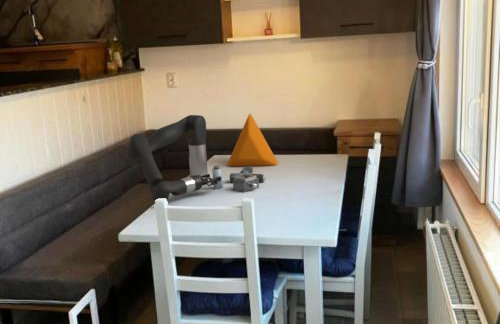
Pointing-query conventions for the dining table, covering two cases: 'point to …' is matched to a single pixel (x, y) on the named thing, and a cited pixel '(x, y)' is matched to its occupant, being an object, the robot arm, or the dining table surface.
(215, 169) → the capped canister
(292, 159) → the dining table surface
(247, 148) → the decorative object
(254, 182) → the grey metal open box
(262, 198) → the dining table surface
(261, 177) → the power drill
